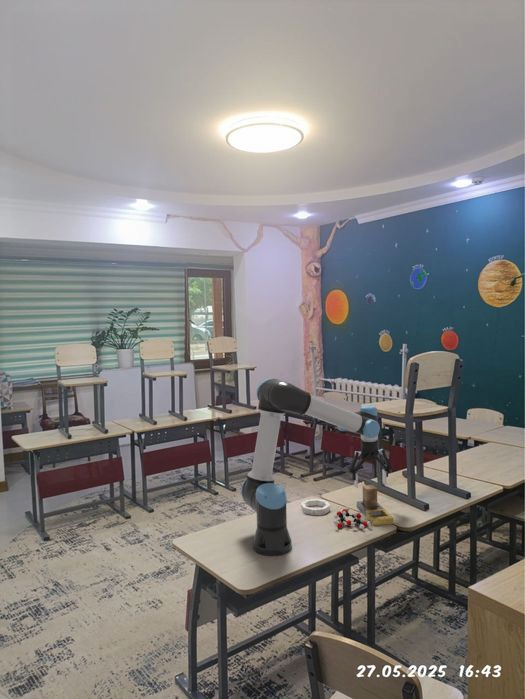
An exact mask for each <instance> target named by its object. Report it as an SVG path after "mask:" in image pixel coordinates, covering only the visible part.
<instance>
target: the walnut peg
mask: <svg viewBox="0 0 525 699" xmlns="http://www.w3.org/2000/svg"><path fill="white" fill-rule="evenodd" d="M362 501H363V506H364V507H365V508H377V503H378V488H377V487H376V486H375V485H374V484H366V485H362Z"/></svg>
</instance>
